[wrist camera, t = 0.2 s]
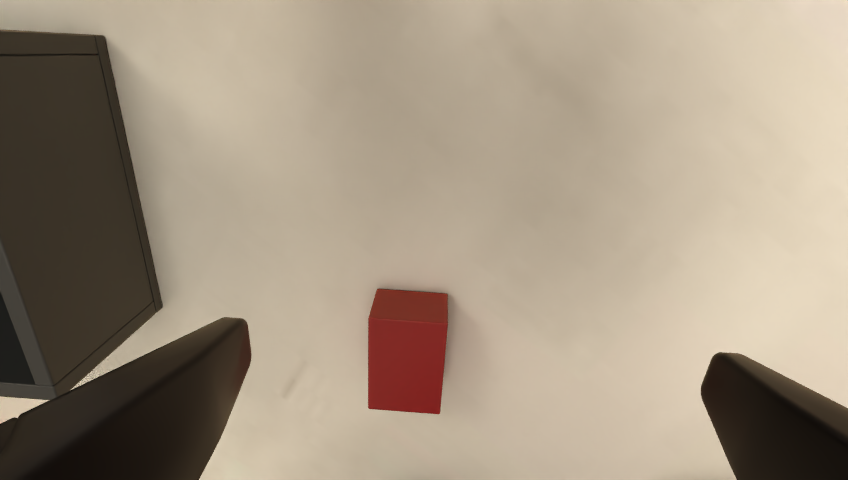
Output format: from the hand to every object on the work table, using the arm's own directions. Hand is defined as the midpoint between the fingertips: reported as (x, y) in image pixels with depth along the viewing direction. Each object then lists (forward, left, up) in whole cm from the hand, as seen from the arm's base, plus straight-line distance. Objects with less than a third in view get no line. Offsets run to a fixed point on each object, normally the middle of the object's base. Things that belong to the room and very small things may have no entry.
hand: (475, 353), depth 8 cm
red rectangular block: (-10, +2, -14) cm, 18 cm away
